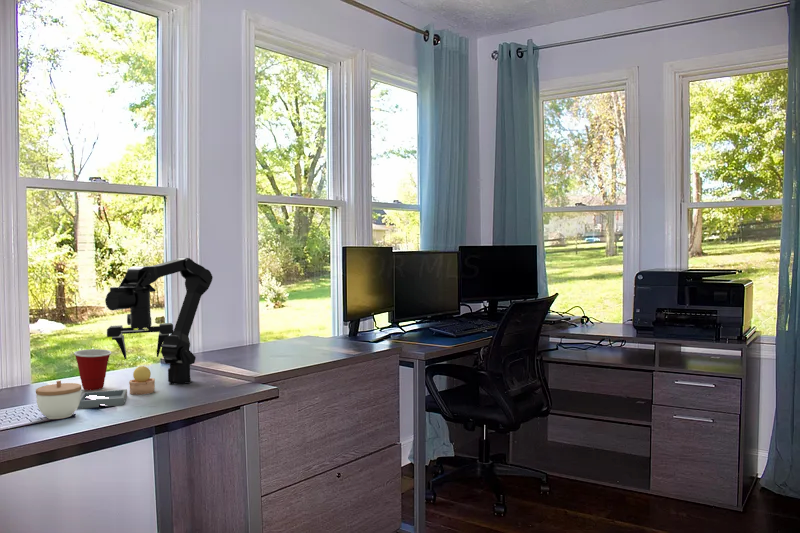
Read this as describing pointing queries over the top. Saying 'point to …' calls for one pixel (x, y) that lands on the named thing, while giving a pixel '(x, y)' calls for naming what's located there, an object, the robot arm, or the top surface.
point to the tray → (114, 399)
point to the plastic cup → (92, 367)
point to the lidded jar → (58, 399)
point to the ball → (141, 374)
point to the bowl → (142, 387)
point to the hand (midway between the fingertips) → (141, 357)
